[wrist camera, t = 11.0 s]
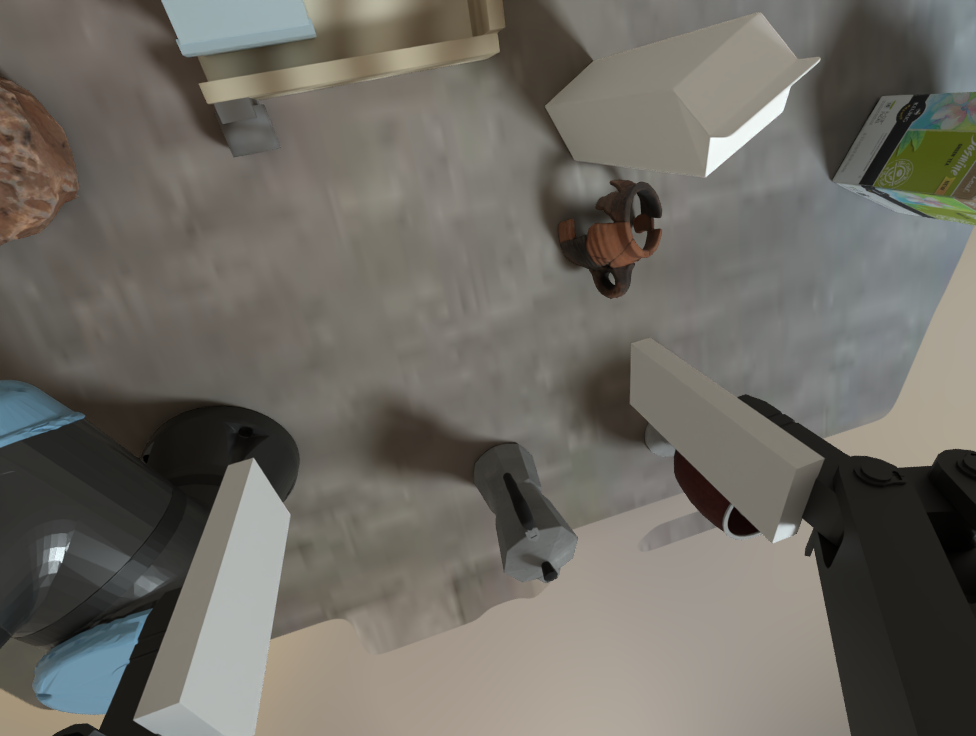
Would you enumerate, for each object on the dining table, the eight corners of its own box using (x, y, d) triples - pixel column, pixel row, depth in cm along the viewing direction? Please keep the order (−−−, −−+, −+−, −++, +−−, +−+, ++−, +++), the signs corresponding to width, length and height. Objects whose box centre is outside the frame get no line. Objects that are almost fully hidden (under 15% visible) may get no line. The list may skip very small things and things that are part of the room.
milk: (543, 106, 39) (710, 81, 21) (594, 59, 38) (814, -10, 20) (574, 162, 42) (743, 184, 24) (622, 119, 42) (834, 108, 23)
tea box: (827, 184, 52) (973, 201, 40) (879, 93, 48) (1061, 80, 36) (894, 214, 58) (1042, 237, 45) (946, 134, 54) (1124, 135, 41)
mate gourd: (732, 398, 67) (858, 487, 50) (682, 463, 72) (782, 564, 55) (667, 374, 60) (787, 467, 44) (617, 448, 65) (707, 557, 49)
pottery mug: (547, 195, 44) (615, 176, 38) (599, 188, 49) (667, 169, 43) (563, 307, 47) (628, 306, 41) (610, 288, 53) (674, 285, 46)
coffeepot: (541, 482, 64) (599, 589, 49) (486, 508, 64) (527, 624, 49) (516, 409, 56) (576, 512, 41) (451, 438, 55) (488, 553, 40)
